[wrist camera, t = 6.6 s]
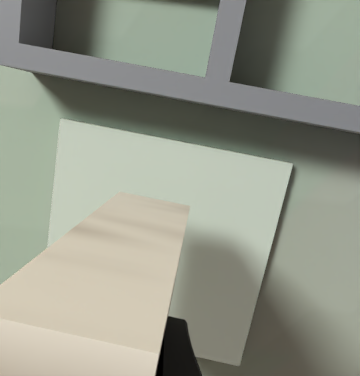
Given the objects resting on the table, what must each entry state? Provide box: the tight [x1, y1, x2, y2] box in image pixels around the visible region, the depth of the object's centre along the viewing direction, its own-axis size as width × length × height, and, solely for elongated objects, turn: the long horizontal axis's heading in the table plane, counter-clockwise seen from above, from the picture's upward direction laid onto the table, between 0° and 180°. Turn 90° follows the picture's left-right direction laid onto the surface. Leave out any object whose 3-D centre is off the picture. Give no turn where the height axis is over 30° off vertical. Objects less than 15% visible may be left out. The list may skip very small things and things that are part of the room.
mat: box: [47, 118, 293, 366], centre depth 18 cm, size 12×12×1 cm
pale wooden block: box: [0, 192, 190, 376], centre depth 10 cm, size 7×3×9 cm, turn 169°
